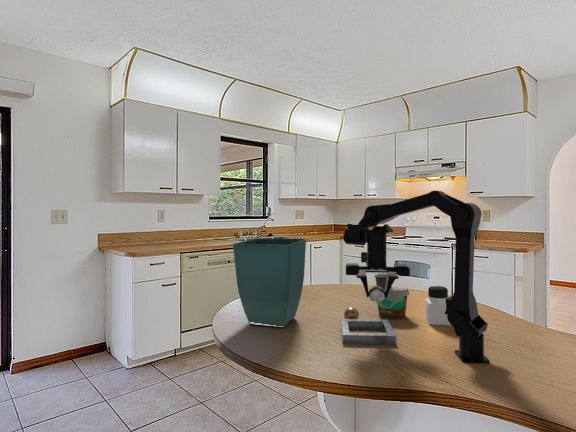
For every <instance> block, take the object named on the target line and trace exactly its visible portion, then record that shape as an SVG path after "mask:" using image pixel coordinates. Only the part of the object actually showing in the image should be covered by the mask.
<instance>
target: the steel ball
mask: <svg viewBox="0 0 576 432" xmlns="http://www.w3.org/2000/svg"><path fill="white" fill-rule="evenodd" d="M368 292H369V297H368V298H369V300H370V301H371V302H373V303H379V302H381V301H383V300H384V298H385V291H384V290H383V288H381V287H379V286H377V285H373V286H371V287H370V288H369V289H368Z"/></svg>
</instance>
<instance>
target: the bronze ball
mask: <svg viewBox="0 0 576 432" xmlns="http://www.w3.org/2000/svg"><path fill="white" fill-rule="evenodd" d="M359 316H360V313H359V311H358V310H357V308H354V307H348V308H346V309H345V310H344V312H343V319H359Z"/></svg>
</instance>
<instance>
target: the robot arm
mask: <svg viewBox="0 0 576 432" xmlns="http://www.w3.org/2000/svg"><path fill="white" fill-rule="evenodd" d="M432 207H435V208H437V209H438V210H439V211H440V212H441V213H444V214H445V215H446V216H449V217H450V223H451V227H452V231H453V234H454V236H455V237H454V238H455V252H454V253H455V256H454V257H455V258H454V287H453V290H454V291H453V293H452V295H450V296H448V298H446V312H445V315H446V314H447V319H448V322H449V323H450V324H451V325H452V327H453V329H454V332H455V336H456V337H458V349H454V353H455V355H456V356H457V357H458V358H459V360H460V361H461V362H463V363H487V364H489V363H490V361H491V360H490V359H489V358H488V357H487V356H486V355H485V334H484V333H485V332H486V331H487V329H488V327H489V324H488V323H487V321H485V320H484V318H482V316H481V315H480V314H479V312H478V311H479V310H478V304H477V303H478V302H477V300H476V297H475V295H474V267H475V266H474V264H475V238H476V236H477V234H478V233H477V232H478V230H479V227H480V223H481V219H482V210H481V208H480V207H479V205H477V204H475V203H473V202H464V201H462V200H460V199H458V198H455V197H453V196H451V195H449V194H447V193H445V192H444V191H443V190H431V191H429V192H428V193H423V194H421V195H417V196H413V197H410V198H408V199H405V200H404V199H403V200H400V201H397V202H394V203H387V204H377V205H369V206H367V207H366V208H365V211H364V213H363V216H362V218H361V219H360V221H359V222H358V223H347V224H346V225H347V227H345V230H344V232H343V234H342V235H343V238H342V239H343V241H344V243H345V244H346V245H350V246H351V245H354V246H361V247H362V246H365V245H366V251H361V253H360V262H361V263H364V264H366V265H364V266H363V265H359V263H358V262H356V263H355V262H353V263H352V262H350V263H349V262H348V263H346V264H345V275H346V276H356V279H360V281H361V283H362V286H363V288H364V292H365V295H366V298H369V285H368V284H369V283H368V276H367V273H377V274H381V273H385V274H386V285H385V298H387V296H388V293H389V291H390V288H391V286H392V287H393V284H394V282H395V280H399V278H400V277H410V276H411V269H410V268H411V267H409V266H408V265H407V264H406V263H393V266H387V233H393V232H394V229H393V228H392V227H390V226H389V224H387V223H388V222H390V221H393V220H394V219H396V218H397V217H400V216H403V215H406V214H410V213H413V212H417V211H421V210H426V209H429V208H432ZM378 225H382V226H378ZM369 228H371V229H369ZM391 289H392V288H391Z"/></svg>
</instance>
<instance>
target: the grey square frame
mask: <svg viewBox="0 0 576 432" xmlns="http://www.w3.org/2000/svg"><path fill="white" fill-rule="evenodd" d="M340 324H341V325H340V326H341V338H342V339H341V340H342V344H343V345H344V344H345V345H346V344H348V345H349V344H350V345H352V344H353V345H355V344H356V345H382V346H383V345H385V346H386V345H388V346H389V345H390V346H396V345H397V336H396V333H395V331H394V329H393V327H392V325H391V323H390V321H389V319H373V318H372V319H370V318H369V319H366V318H365V319H363V318H362V319H361V318H358V319H345V318H341V323H340ZM350 329H352V330H353V329H354V330H355V329H356V330H357V329H358V330H361V329H362V330H382V332H383V333H382V332H381V333H380V332H379V333H377V332H350Z"/></svg>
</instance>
